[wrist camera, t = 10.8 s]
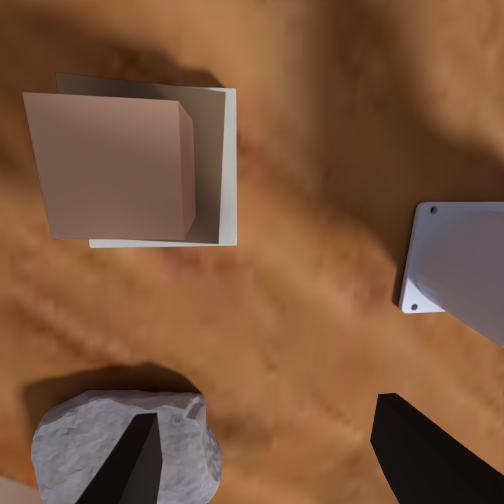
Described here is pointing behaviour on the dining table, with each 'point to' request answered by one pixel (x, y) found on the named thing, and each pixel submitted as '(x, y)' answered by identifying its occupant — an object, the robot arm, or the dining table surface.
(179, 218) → the terracotta cube
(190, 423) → the stone block
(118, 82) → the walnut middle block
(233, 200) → the grey base block
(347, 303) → the dining table surface
